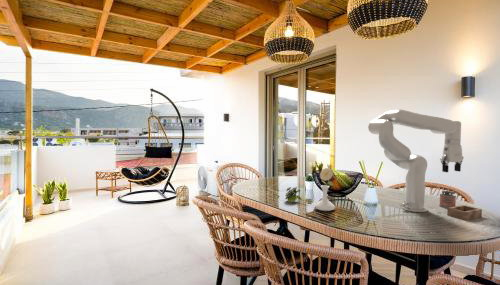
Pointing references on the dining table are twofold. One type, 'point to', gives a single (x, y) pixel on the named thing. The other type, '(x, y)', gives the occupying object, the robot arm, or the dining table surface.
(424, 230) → the dining table surface
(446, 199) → the lighter
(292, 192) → the green leafy plant
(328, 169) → the flower in vase
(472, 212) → the lighter dock
